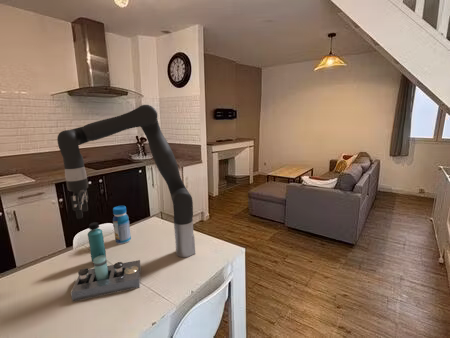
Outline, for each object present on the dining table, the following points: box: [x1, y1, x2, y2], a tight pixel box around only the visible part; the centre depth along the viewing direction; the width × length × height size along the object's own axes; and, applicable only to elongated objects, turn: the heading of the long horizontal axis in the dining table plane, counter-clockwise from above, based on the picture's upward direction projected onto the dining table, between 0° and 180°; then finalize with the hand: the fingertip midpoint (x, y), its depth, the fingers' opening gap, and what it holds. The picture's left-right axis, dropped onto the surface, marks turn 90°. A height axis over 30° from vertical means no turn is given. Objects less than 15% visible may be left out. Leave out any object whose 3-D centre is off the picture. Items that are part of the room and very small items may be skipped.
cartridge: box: [93, 255, 109, 281], centre depth 98 cm, size 5×5×12 cm
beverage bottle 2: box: [112, 205, 132, 245], centre depth 134 cm, size 8×8×20 cm
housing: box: [70, 259, 142, 302], centre depth 100 cm, size 24×14×4 cm, turn 107°
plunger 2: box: [112, 261, 124, 277], centre depth 100 cm, size 4×4×5 cm
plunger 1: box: [77, 267, 89, 284], centre depth 97 cm, size 4×4×5 cm
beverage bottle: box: [87, 222, 107, 263], centre depth 114 cm, size 6×7×20 cm
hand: (82, 214), depth 103 cm, fingers open, 8 cm apart
